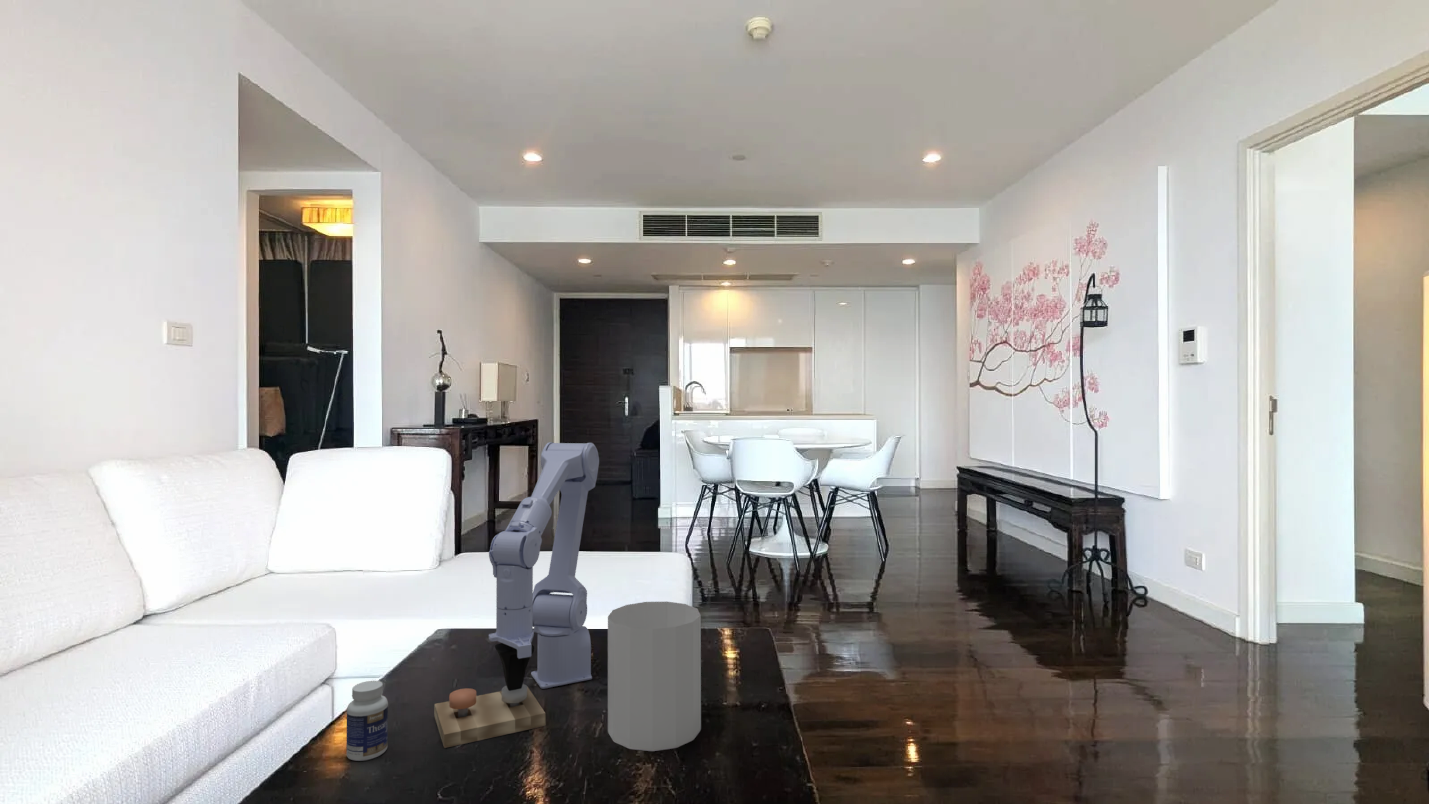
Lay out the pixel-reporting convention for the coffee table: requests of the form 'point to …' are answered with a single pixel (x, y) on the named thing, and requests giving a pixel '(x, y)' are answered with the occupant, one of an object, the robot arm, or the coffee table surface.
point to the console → (487, 719)
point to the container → (654, 675)
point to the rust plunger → (462, 700)
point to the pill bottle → (367, 722)
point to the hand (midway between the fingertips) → (514, 688)
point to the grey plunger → (514, 695)
